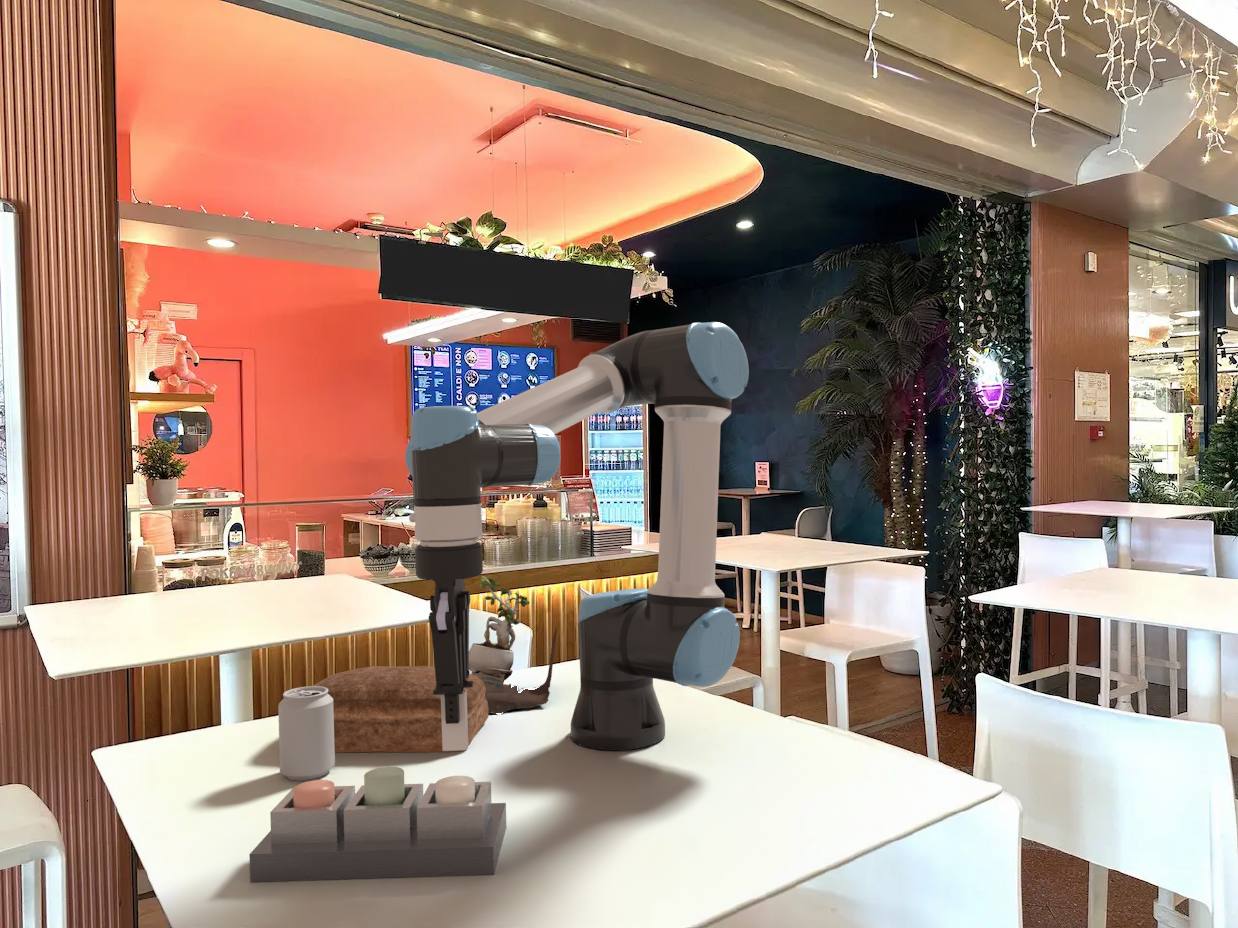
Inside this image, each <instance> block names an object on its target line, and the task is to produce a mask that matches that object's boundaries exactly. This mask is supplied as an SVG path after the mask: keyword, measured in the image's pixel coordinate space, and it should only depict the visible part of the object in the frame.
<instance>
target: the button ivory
mask: <svg viewBox="0 0 1238 928" xmlns="http://www.w3.org/2000/svg"><path fill="white" fill-rule="evenodd" d="M474 782H475V779H474V778H473V777H471V776H468V775H467V776H466V775H451V776H447V777H446V776H445V777H443V778H439V780H437V781H436V782H434V783H435V794H436V804H439V803H471V802H475V783H474Z"/></svg>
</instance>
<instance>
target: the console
mask: <svg viewBox="0 0 1238 928" xmlns="http://www.w3.org/2000/svg"><path fill="white" fill-rule="evenodd" d="M435 783H436V782H434V783H431V782H430V783H429V784H428V786H427V788H426V790H425V792H424V783H404V787H405V801H404V803H403V804H402V805H373V806H365V790H364V784H363V785H361V786H360V787H359V788H358V790H357V791H356V785H337V786H336V785H334V794H335V801H334V802H333V804H332V805H331V806H330V807H307V808H294V796H293V789H294V787H292V789H291V790H290V791H289V792H288V793H287V794H286V795H285V796H284V797H283V798H282V800H280V801H279V803H277V804H276V806H274V808H272V810H271V811H270V813H269V815H270V816H269V817H270V831H269V832H268V833H267V834H266V835H265V837H263V838H262V840H261V841H260V842H259V843H258V844H257V845H256V847H254V848H253V850H251V852H250V853H249V855H248V856H249V882H250V883H264V882H265V883H267V882H271V883H272V882H297V881H299V882H300V881H302V882H303V881H326V880H327V881H328V880H329V881H333V880H359V879H360V880H362V879H363V880H364V879H395V878H396V879H397V878H399V879H400V878H426V877H427V878H428V877H455V876H457V877H458V876H463V877H464V876H487V875H488V876H489V875H495V872H496V868H497V863H498V861H499V858H500V853H501V849H502V846H503V841H504V838H505V834H506V831H507V803H506V802H493V803H492V781H474V783H475V802H471V803H439V804H436V794H435Z"/></svg>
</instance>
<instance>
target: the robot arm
mask: <svg viewBox="0 0 1238 928" xmlns="http://www.w3.org/2000/svg"><path fill="white" fill-rule="evenodd" d="M747 356H748V355H747V352H746V350H745V347H744V345H743V343H742V342H741V340H740V338H739V336H738V334H737V333H736V332H735V331H734V330H733V329H732V328H731V327H729V326H728V325H726V324H724V323H722V322H718V321H711V322H709V321H708V322H698V321H697V322H692V323H691V324H684V325H679V326H678V325H677V326H672V327H666V328H659V329H649V330H644V331H640V332H637V333H634V334H632V335H629V336H627V337H625V338H622V339H621V340H619V341H616V342H614V343H612V344H610V345H608V346H606V347H604V348H602V349H599V350H598V351H596V352H594V353H591V354H589V355H587V356H586V357H583V358H582V359H581V360H580V362H579V363H578V366H577V367H576V368H573V369H572V370H570V371H567V372H566V373H563V374H561V375H558V376H556V377H554V378H552V379H550V380H547V381H546V382H543V383H541V384H539V385H536V386H534V387H532V388H528V389H527V390H524V391H522V392H521V393H519V394H516V395H514V396H512V397H510V398H508V399H505V400H502V401H501V402H499V403H497V404H494V405H491V406H489V407H487V408H484V409H483V410H481V411H479V412H477V409H475V407H473V406H465V405H437V406H436V405H433V406H424V407H419V408H418V409H416V410H415V411H414V412H413V414H412V415H411V427H410V440H409V441H408V444H407V446H406V449H405V451H404V452H405V453H404V457H405V458H404V459H405V460H404V461H405V465H406V468H407V470H408V472H409V474H410V476H411V478H412V496H413V498H412V499H413V513H412V514H410V515H409V517H408V521H409V522H410V523H414V539H415V540H416V541H417V542H419V543H420V544H418V545H417V546H416V548H414V560H415V562H414V563H415V576H416V577H417V578H418V579H421V580H423V581H430V580H431V581H433V582H434V584H435V586H434V595H430V597H429V604H430V605H429V606H430V607H429V608H430V611H431V612H429V615H428V622H429V625H430V632H431V640H432V652H433V661H434V664H433V665H434V667H435V676H436V688H435V689H434V691H433V694H434V695H441V720H442V748H443V751H445V752H458V751H457V750H463V751H467V750H468V748H469V747H468V717H467V690H464V688H472V687H473V681H467V678H468V677H469V674H470V670H469V650H470V645H469V644H470V643H469V642H470V633H469V632H470V604H471V593H470V590H466V584H465V583H466V582H465V580H466V579H473V578H475V577H479V576H480V575H482V573H483V571H484V563H483V562H484V561H483V545H482V544H481V542H480V541H479V542H478V539H480V538H481V537H482V536H483V523H482V522H483V521H482V517H483V516H482V503H481V502H482V501H481V498H482V497H481V488H482V489H485V488H490V487H512V486H513V487H515V486H528V487H532V486H533V485H536V484H537V485H538V484H543V483H547V482H549V481H551V480H552V479H553V478H554V477H555V475H556V473H557V472H558V470H559V469H560V465H561V464H560V463H561V459H562V458H561V446H560V441H559V439H558V437H557V436H556V434H558V433H560V432H562V431H564V430H566V429H568V428H571V427H572V426H574V425H576V424H578V423H580V422H582V421H584V420H586V419H588V418H591V416H594V415H596V414H597V413H600V414H611V413H614V412H616V411H618V410H620V409H622V408H627V407H631V406H638V405H649V404H650V405H652V404H653V405H654V411H655V413H656V414H657V415H658V416H659V417H660V418H661V420H662V421H663V439H662V440H663V441H662V442H663V443H662V444H663V445H662V464H661V467H662V469H661V494H660V517H659V536H658V537H659V539H658V540H659V542H658V566H657V567H658V568H657V579H656V581H655V582H654V583H653V584H652V585H651V586H650V587H649V588H642V587H641V588H629V589H618V590H611V591H604V592H599V593H593V594H589V595H586V596H584V597H583V598H582V599H581V601H580V602H579V607H578V620H577V627H578V628H577V629H578V652H579V655H578V656H579V672H580V673H579V674H580V675H579V677H580V678H579V679H580V689H579V693H578V697H577V700H576V703H575V705H574V706H575V707H574V710H573V713H572V717H571V720H570V738H571V740H572V741H573V742H574V743H576V744H577V745H580V746H582V747H585V748H590V749H596V750H603V751H605V750H607V751H622V750H624V751H625V750H634V749H639V748H640V749H641V748H645V747H648V746H652V745H654V744H657V743H659V742H660V741H662V740H663V739H664V738H665V736H666V721H665V717H664V714H663V712H662V711H663V710H662V708H661V706H660V702H659V699H658V696H657V694H656V691H655V687H654V679H656V680H661V681H665V682H670V683H674V684H678V685H681V686H682V687H690V686H692V687H693V686H694V687H700V688H706V687H711V686H713V685H716V684H717V683H719V682H720V681H721V680H722V679H724V678H725V676H726V675H727V674H728V672H729V670H730V669H731V667H732V666H733V665H734V662H735V660H736V657H737V654H738V651H739V646H740V638H741V636H740V635H741V634H740V626H739V623H738V622H737V618H736V616H735V614H734V612H732V611H730V610H729V609H728V608H726V607H725V593H724V592H723V590H722V589H720V587H719V586H718V585H717V583H716V562H717V561H716V557H717V536H718V535H717V534H718V533H717V531H718V530H717V529H718V505H719V501H718V500H719V477H720V476H719V475H720V474H719V473H720V454H721V453H720V449H721V448H720V447H721V425H722V424H723V422H724V421H725V420H726V419H727V418H728V417H730V416H731V414H732V400H733V399H737V398H738V397H740V395H742V394H743V393H744V391H745V388H746V387H747V385H748V381H749V375H750V374H749V373H750V371H749V370H750V368H749V361H748V357H747Z"/></svg>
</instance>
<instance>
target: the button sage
mask: <svg viewBox="0 0 1238 928" xmlns="http://www.w3.org/2000/svg"><path fill="white" fill-rule="evenodd" d="M363 779H364V780H363V783H364V784H363V785H364V790H365V806H373V805H402V804H403V803H404V801H405V787H404V784H405V770H404V769H403V768H402V767H398V766H383V767H377V768H374V769H371V770H368V771H367V772H365V773H364V775H363Z"/></svg>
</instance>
